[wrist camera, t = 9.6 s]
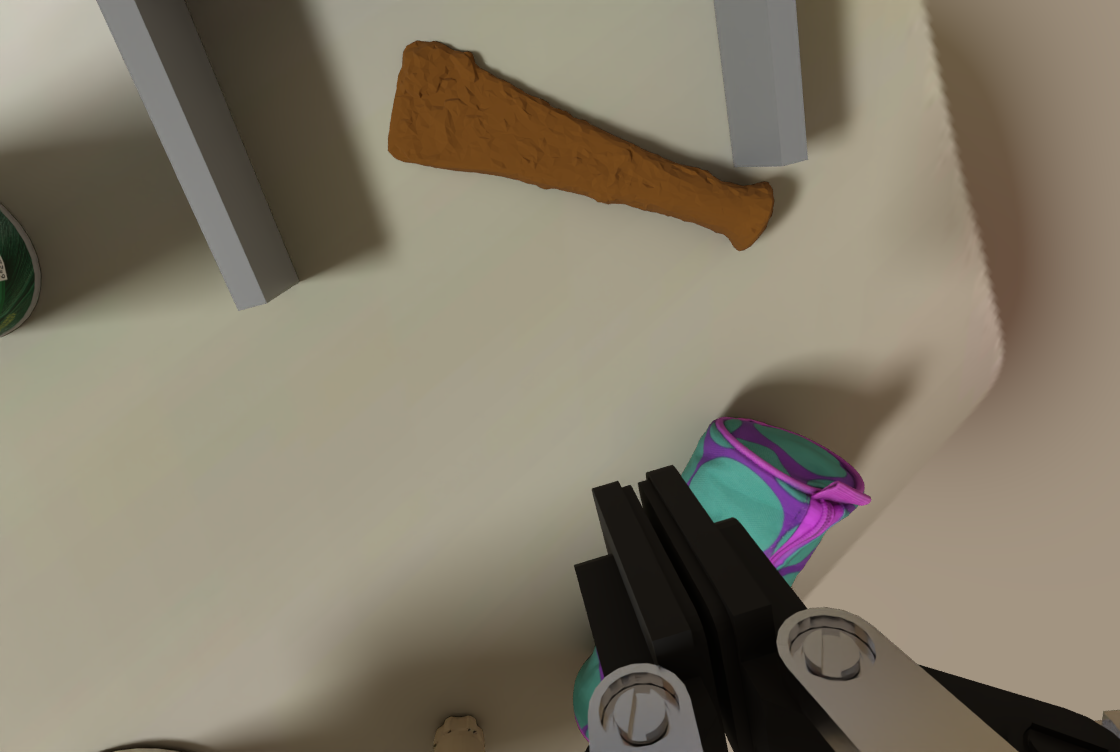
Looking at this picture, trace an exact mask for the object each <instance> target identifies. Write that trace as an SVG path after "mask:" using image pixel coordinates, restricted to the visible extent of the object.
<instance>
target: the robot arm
mask: <svg viewBox="0 0 1120 752" xmlns="http://www.w3.org/2000/svg"><path fill="white" fill-rule="evenodd" d="M638 487H639V492H640V497H641V501H642V506H643V507H642V506H641V504H640V502H639V500H638V498H637V496H636V494H635V492H634V490H633V488H632V486H631V485H628V486H625V487H621V485H620V483H619V482H618V481H616V482H612V483H609V484H606V485H602V486H599V487H595V488H592V493H593V497H594V501H595V505H596V509H597V513H598V517H599V521H600V524H601V528H602V532H603V536H604V540H605V544H606V548H607V552H608V555H606V556H602V557H599V558H596V559H592V560H589V561H586V562H582V563H579V564H576V565H574V567H575V571H576V575H577V578H578V582H579V586H580V589H581V593H582V597H583V601H584V604H585V608H586V612H587V615H588V619H589V623H590V627H591V630H592V634H593V638H594V641H595V645H596V649H597V653H598V656H599V660H600V664H601V667H602V671H603V675H604V679H603V680H602V681H601V682H600V683H599V685H598V686H597V687H596V688H595V690H594V692H593V695H592V697H591V699H590V701H589V709H588V731H589V746H588V747H587V749H586V751H585V752H728V748H727V743H726V738H725V734H726V736H727V738H728V741H729V743H730V745H731V747H732V749H733V751H734V752H1120V710H1111V711H1103V717H1102V720H1098V721H1093V720H1092V719H1090V718H1088V717H1086V716H1083V715H1081V714H1078V713H1075V712H1073V711H1070V710H1068V709H1065V708H1062V707H1059V706H1055V705H1052V704H1049V703H1046V702H1042V701H1039V700H1035V699H1032V698H1029V697H1025V696H1022V695H1018V694H1015V693H1012V692H1009V691H1005V690H1002V689H998V688H995V687H992V686H989V685H985V684H982V683H978V682H975V681H972V680H969V679H965V678H962V677H958V676H955V675H952V674H948V673H945V672H942V671H938V670H935V669H932V668H928V667H925V666H922V665H918V664H917V663H915V662H914V661H913V660H912V659H911V658H910V657H908V656H907V655H906V654H905V653H904V652H903V651H902V650H900V649H899V648H898V647H897V646H896V645H894V644H893V643H892V642H891V641H890V640H888V638H886V637H885V636H884V635H883V634H882V633H881V632H879V631H878V630H877V629H876V628H875V627H874V626H872V625H871V624H870V623H868V622H867V621H865V620H864V619H862V618H861V617H859V616H857V615H854V614H852V613H849V612H847V611H844V610H840V609H834V608H828V607H824V608H809V609H807V608H806V606H805V605H804V604H803V602H802V601H801V600H800V599H799V597H798V596H797V595H796V593H795V592H794V591H793V590H792V588H791V587H790V586H789V584H788V583H787V582H786V581H785V579H784V578H783V577H782V575H781V574H780V573H779V572H778V570H777V569H776V568H775V566H774V565H773V564H772V563H771V561H770V560H769V559H768V557H767V556H766V555H765V554H764V552H763V551H762V550H761V549H760V547H759V546H758V545H757V543H756V542H755V541H754V540H753V538H752V537H751V536H750V534H749V533H748V532H747V531H746V529H745V528H744V527H743V525H742V524H741V523H740V522H739V521H738V520H737V519H736V518H734V517H731V518H728V519H725V520H722V521H718V522H715V523H714V522H713V520H712V519H711V518H710V516H709V515H708V513H707V512H706V511H705V509H704V508H703V506H702V505H701V503H700V502H699V501H698V499H697V498H696V496H695V495H694V493H693V492H692V491H691V489H690V488H689V486H688V485H687V483H686V482H685V481H684V479H683V478H682V476H681V475H680V474H679V472H678V471H677V469H676V468H675V467H674V466H673V465H670V466H667V467H663V468H660V469H657V470H653V471H650V472H646V480H645V481H642V482H638ZM114 752H179V751H173V750H166V749H158V748H135V749H127V750H119V751H114Z"/></svg>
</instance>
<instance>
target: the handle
mask: <svg viewBox="0 0 1120 752" xmlns="http://www.w3.org/2000/svg"><path fill="white" fill-rule="evenodd" d="M484 747H485V742H484V735H483V731H482V729H481V728H479V727H478V726H477V724H476V719H475V718H473V717H472V716H468V715H467V716H465V717H452V716H451V717H449V718H447V719H446V720H445V723H444V725H443V726H442V727H440V728H438V729H437V731H436V734H435V738H434V744H433V749H435V750H434V752H485V749H484Z"/></svg>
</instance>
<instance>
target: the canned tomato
mask: <svg viewBox="0 0 1120 752" xmlns="http://www.w3.org/2000/svg"><path fill="white" fill-rule="evenodd" d="M40 289H41V272H40V267H39V262H38V258H37V255H36V252H35V250H34V248H33V245H32V243H31V241H30V239H29V237H28V236H27V234H26V233H25V231H24V230H23V228H22V227H21V225H20V224H19V223H18V221H17V220H16V219H15V218H14V217H13V216H12V215H11V214H10V213H9V212H8V210H7V209H6V208H5V207H3V206H2V205H1V204H0V337H2V336H5V335H6V334H8V333H10V332H11V331H13V330H14V329H16V328H18V327H19V326H20V325H21V324H22V323H23V322H24V321H25V320H26V319H27V318H28V317H29V316H30V314H31V313H32V311H33V309H34V307H35V306H36V304H37V300H38V297H39V293H40Z"/></svg>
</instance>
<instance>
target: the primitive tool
mask: <svg viewBox="0 0 1120 752" xmlns="http://www.w3.org/2000/svg"><path fill="white" fill-rule="evenodd" d="M388 151H389V152H390V153H391V155H392V156H393V157H394V158H396V159H398V160H401V161H403V162H408V163H416V164H420V165H424V166H431V167H434V168H441V169H448V170H454V171H463V172H476V173H482V174H489V175H496V176H502V177H506V178H511V179H515V180H520V181H522V182H525V183H528V184H534V185H537V186H539V187H540V188H543V189H551V188H552V189H559V190H562V191H563V190H564V191H567V192H572V193H576V194H581V195H585V196H588V197H590V198H593V199H595V200H596V201H597V202H602V203H606V204H626V205H629V206H631V207H635V208H639V209H641V210H644V211H650V212H657V213H660V214H664V215H666V216H672V217H675V218H678V219H681V220H682V221H686V222H693V223H695V224H698V225H700V226H703V227H706V228H708V229H711V230H712V231H714V232H716V233H720V234H724V235H725V236H726V237H727V238H729V240H730V241H731V243H732V245H733V246H734V248H736V249H737V250H738V251H743V250H745V249H747V248H749V247H750V246H752V244H753V243H754V242H755V241H756V240H757V239H758V238H759V237H760V235H761V234H762V233H763V231H764V230H765V229H766V227H767V223H768V221H769V219H770V217H771V216H772V212H773V206H774V197H773V189H772V187H771V185H770V184H769V182H765V181H763V182H759V183H756V184H752V185H745V186H742V185H738V184H734V183H731V182H723V181H720V180H719V179H718V178H716V177H715V176H713V175H712V174H711V173H710V172H709V171H708V170H701V169H700V168H696V167H691V166H686V165H681V164H678V163H675V162H672V161H670V160H667V159H664V158H663V157H661V156H659V155H657V154H654V153H651V152H648V151H646V150H644V149H642V148H640V147H638V146H636V145H635V144H632V143H630V142H628V141H625V140H623V139H621V138H619V137H616V136H614V135H612V134H610V133H608V132H606V131H604V130H601V129H599V128H597V127H595V126H593V125H591V124H589V123H588V122H587V121H585V120H580V119H577V118H574V117H573V116H572V115H571V114H569V113H568V112H567V111H563V110H561V109H557V108H554V107H552V106H550V104H549V103H548V102H546V101H544V100H543V99H539V98H537V97H534V96H531V95H529V94H527V93H525V92H524V91H522V90H521V89H519V88H517V87H515V86H514V85H512V84H510V83H509V82H507V81H505V80H502V79H500V78H497V77H495V76H494V75H492V74H490V73H489V72H487V71H485V70H483V69H481V68H480V67H479V66H478V65H477V64H476V63H475V60H474V56H473V54H472V53H471V52H469V51H467V52H461V51H454V50H452V49H451V48H449V47H447V46H446V45H444V44H442V43H440V42H436V41H432V42H426V41H415V42H413V43H411V44H410V45H407V46H406V48H405V50H404V52H403V61H402V68H401V70H400V73H399V75H398V81H397V89H396V94H395V99H394V104H393V110H392V115H391V122H390V131H389V135H388Z"/></svg>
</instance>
